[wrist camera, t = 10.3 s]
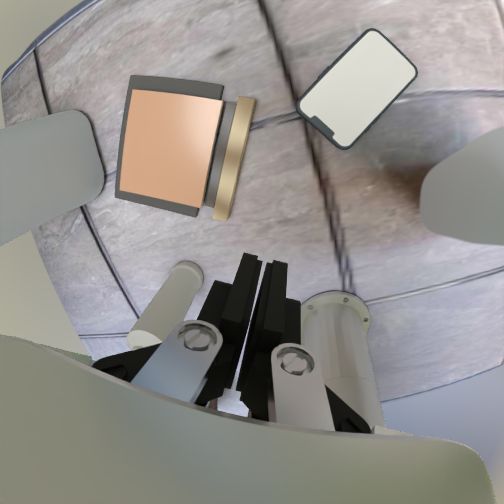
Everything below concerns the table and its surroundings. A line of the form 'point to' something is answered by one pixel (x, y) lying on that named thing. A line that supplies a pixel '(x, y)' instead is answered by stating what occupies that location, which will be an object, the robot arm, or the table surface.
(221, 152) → the tile stand
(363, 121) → the phone case
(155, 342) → the bottle
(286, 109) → the table surface
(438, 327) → the table surface
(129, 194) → the rubber mat
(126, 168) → the tile
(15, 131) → the plastic bottle
